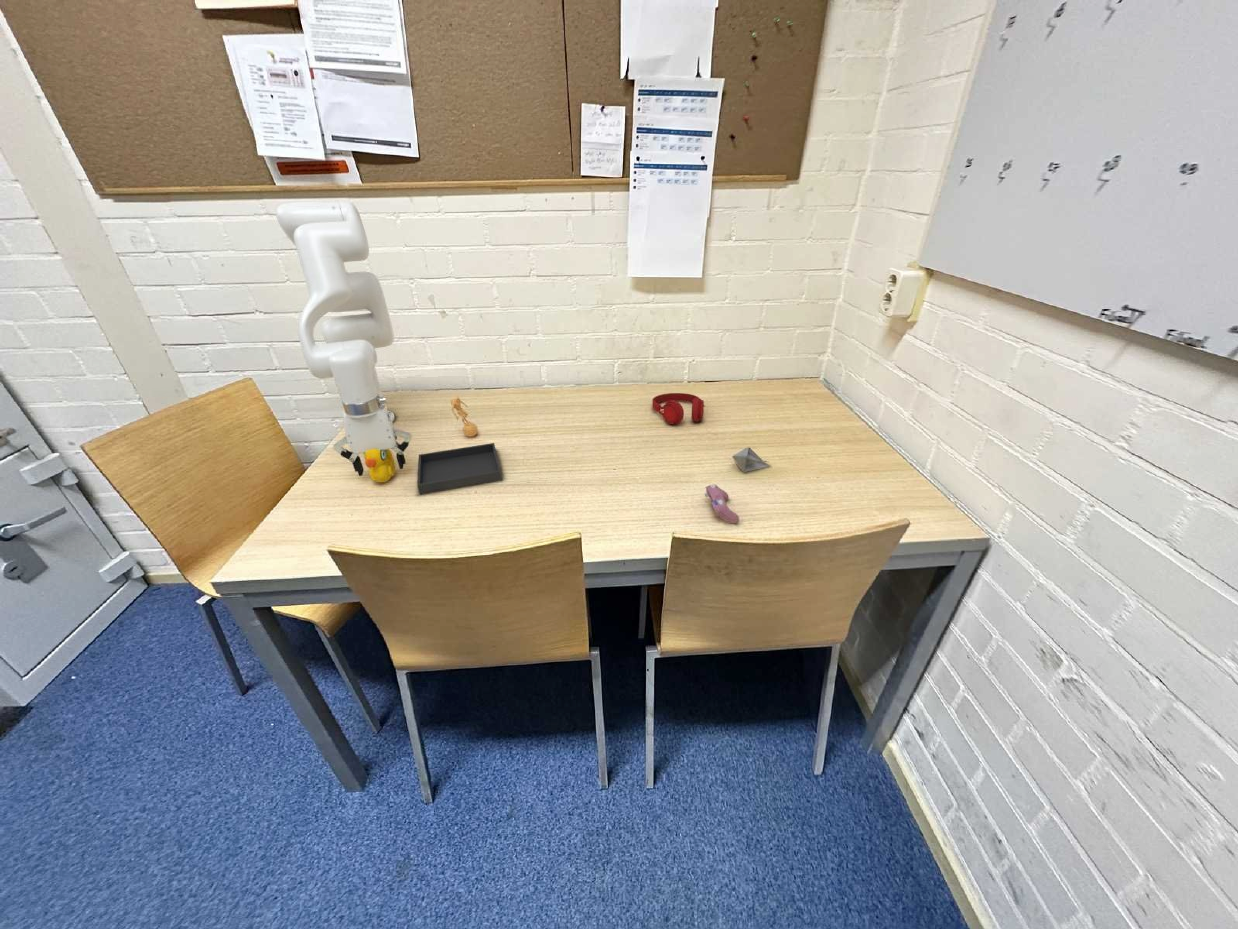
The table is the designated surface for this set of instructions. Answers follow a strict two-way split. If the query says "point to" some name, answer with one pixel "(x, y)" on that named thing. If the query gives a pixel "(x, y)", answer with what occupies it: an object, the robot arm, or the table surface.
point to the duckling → (380, 464)
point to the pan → (458, 468)
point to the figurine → (469, 427)
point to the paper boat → (748, 460)
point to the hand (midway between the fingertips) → (381, 469)
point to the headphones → (678, 407)
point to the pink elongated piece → (720, 503)
